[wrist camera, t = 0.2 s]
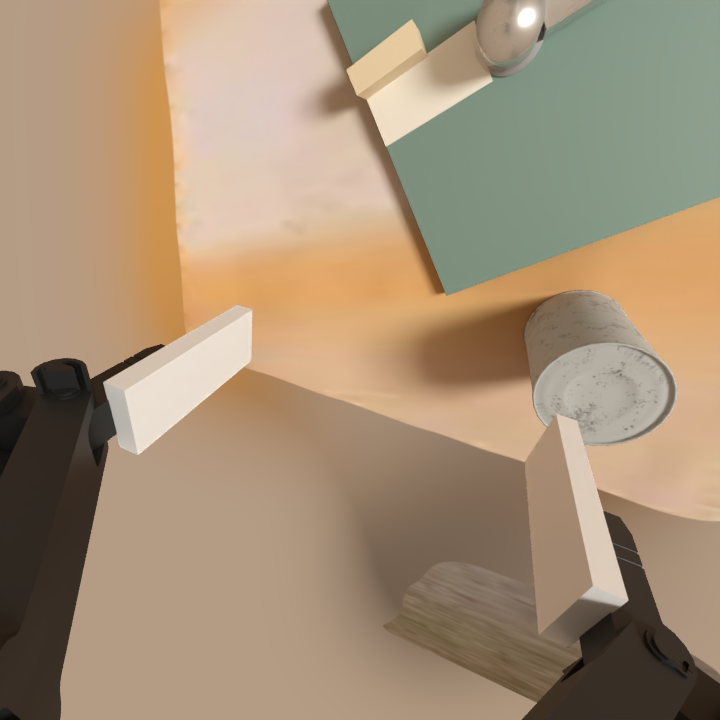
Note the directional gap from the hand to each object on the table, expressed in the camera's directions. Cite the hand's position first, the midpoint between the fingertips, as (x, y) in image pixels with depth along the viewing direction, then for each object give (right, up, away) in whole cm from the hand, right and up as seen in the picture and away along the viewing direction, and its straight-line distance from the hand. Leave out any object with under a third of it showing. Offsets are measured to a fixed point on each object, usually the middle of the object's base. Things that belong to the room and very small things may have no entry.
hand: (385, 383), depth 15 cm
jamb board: (+13, +24, +15) cm, 31 cm away
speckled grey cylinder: (+22, +4, +23) cm, 32 cm away
